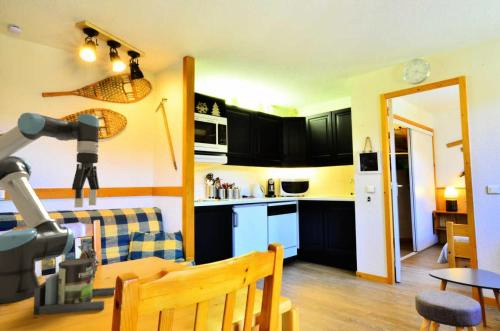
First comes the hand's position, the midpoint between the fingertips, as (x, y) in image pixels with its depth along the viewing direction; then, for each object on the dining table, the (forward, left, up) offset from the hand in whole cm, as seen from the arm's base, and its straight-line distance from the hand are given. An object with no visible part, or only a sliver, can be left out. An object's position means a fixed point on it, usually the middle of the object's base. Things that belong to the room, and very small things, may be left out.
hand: (86, 206), depth 117 cm
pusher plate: (-3, -16, -31) cm, 35 cm away
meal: (-4, +14, -32) cm, 35 cm away
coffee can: (+3, -16, -32) cm, 36 cm away
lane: (+4, -16, -32) cm, 36 cm away
